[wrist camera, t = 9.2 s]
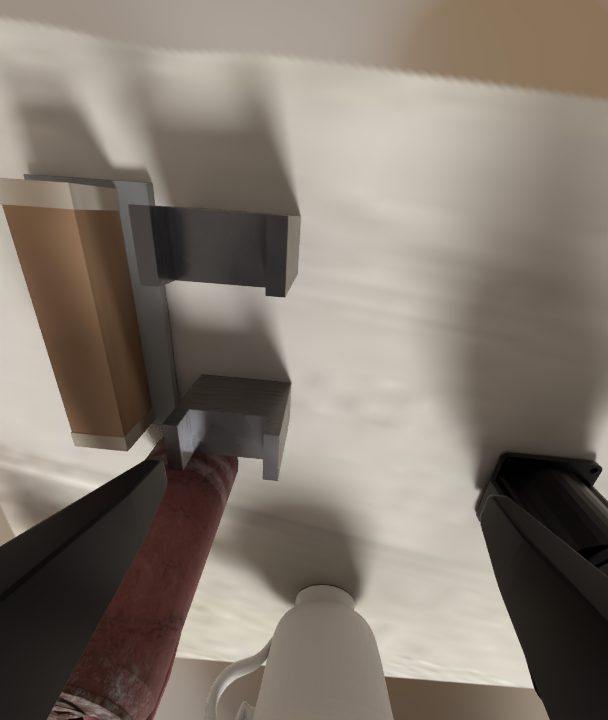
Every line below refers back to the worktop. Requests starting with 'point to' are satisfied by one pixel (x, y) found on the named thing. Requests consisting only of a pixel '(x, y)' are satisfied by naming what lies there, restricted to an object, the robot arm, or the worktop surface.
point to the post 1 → (215, 247)
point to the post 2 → (230, 422)
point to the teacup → (314, 665)
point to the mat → (142, 299)
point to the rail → (83, 305)
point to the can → (151, 599)
